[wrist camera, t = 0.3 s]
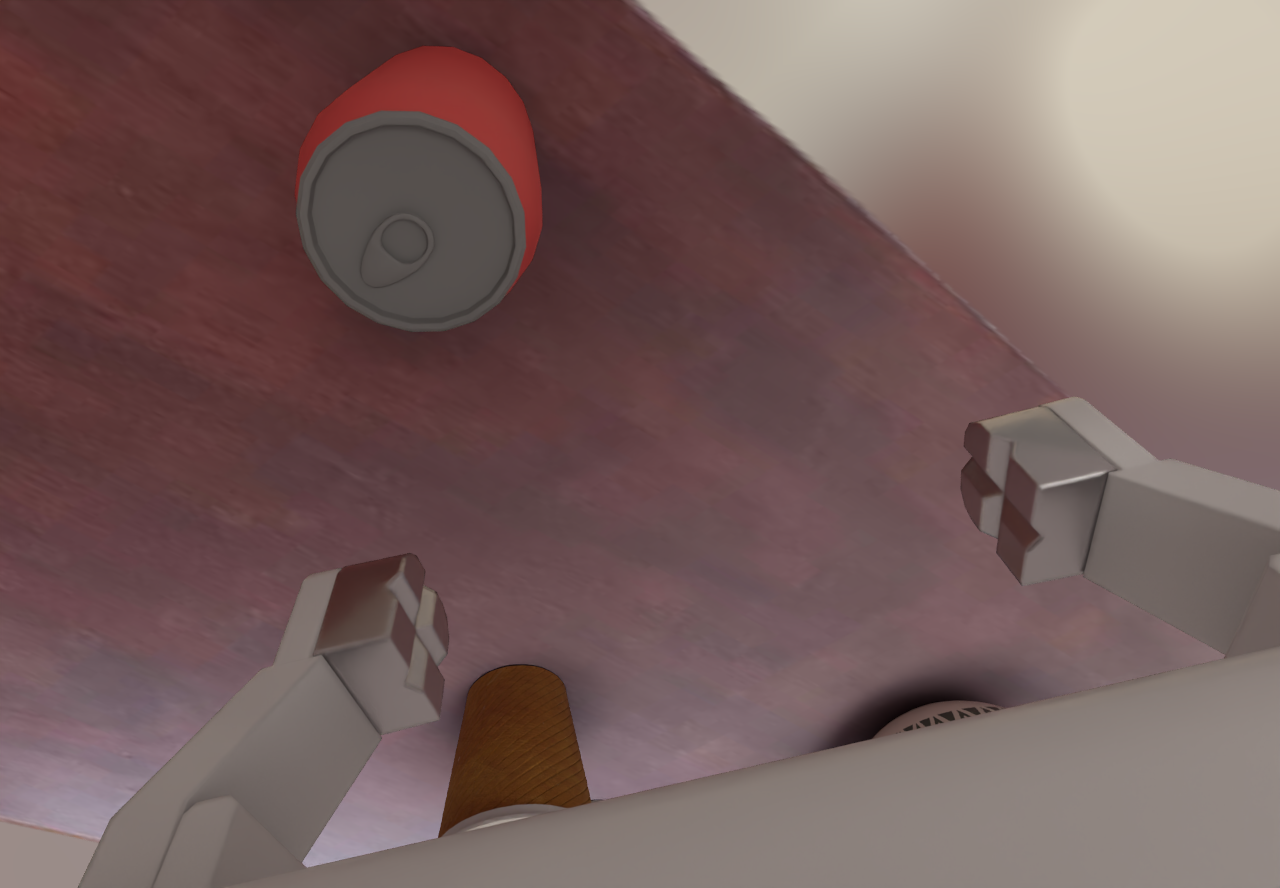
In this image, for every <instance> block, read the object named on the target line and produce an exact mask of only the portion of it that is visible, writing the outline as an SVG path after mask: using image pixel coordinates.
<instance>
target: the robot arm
mask: <svg viewBox="0 0 1280 888" xmlns="http://www.w3.org/2000/svg"><path fill="white" fill-rule="evenodd" d="M964 447H965V449H966V450H967V451H968V452H969V453H970V455H971V456H972V457H971V459H970V460H969V461H968V463H967V464H966V465H965V466H964V468H963V469H962V470H961V493H962V497H963V501H964V505H965V508H966V510H967V512H968V514H969V516H970V518H971V520H972V521H973V522H974V524H975V525H976V527H977V528H978V529H979V531H981V532H983V533H985V534H987V535H990V536H992V537H994V538H996V539H998V543H997V551H996V553H997V554H998V556H999V557H1000V558H1001V560H1002V561H1003V562H1004V563H1005V565H1006V566H1007V567H1008V569H1009V570H1010V571H1011V573H1012V574H1013V575H1014V576H1015V578H1016V579H1017V580H1018V582H1019V583H1020V584H1021V585H1022V586H1026V585H1031V584H1036V583H1041V582H1046V581H1051V580H1056V579H1061V578H1065V577H1070V576H1075V575H1080V574H1084V575H1083V577H1084V578H1086V579H1088V580H1090V581H1092V582H1094V583H1095V584H1097V585H1099V586H1101V587H1103V588H1104V589H1106V590H1108V591H1110V592H1112V593H1114V594H1115V595H1117V596H1119V597H1121V598H1123V599H1125V600H1126V601H1128V602H1130V603H1132V604H1134V605H1135V606H1137V607H1139V608H1141V609H1143V610H1145V611H1146V612H1148V613H1150V614H1152V615H1154V616H1156V617H1157V618H1159V619H1161V620H1163V621H1165V622H1166V623H1168V624H1170V625H1172V626H1174V627H1176V628H1177V629H1179V630H1181V631H1183V632H1185V633H1186V634H1188V635H1190V636H1192V637H1194V638H1196V639H1197V640H1199V641H1201V642H1203V643H1205V644H1207V645H1208V646H1210V647H1212V648H1214V649H1216V650H1217V651H1219V652H1221V653H1223V654H1225V657H1224V659H1220V660H1216V661H1211V662H1207V663H1203V664H1198V665H1194V666H1189V667H1185V668H1181V669H1176V670H1172V671H1167V672H1163V673H1159V674H1154V675H1150V676H1146V677H1141V678H1137V679H1132V680H1128V681H1124V682H1119V683H1115V684H1110V685H1106V686H1102V687H1097V688H1093V689H1088V690H1084V691H1080V692H1075V693H1071V694H1067V695H1062V696H1058V697H1053V698H1049V699H1045V700H1040V701H1036V702H1032V703H1027V704H1023V705H1019V706H1014V707H1010V708H1006V709H1001V710H997V711H992V712H988V713H984V714H979V715H975V716H971V717H966V718H962V719H958V720H953V721H949V722H945V723H940V724H936V725H932V726H927V727H923V728H918V729H914V730H910V731H905V732H901V733H897V734H892V735H888V736H884V737H879V738H875V739H871V740H866V741H862V742H857V743H853V744H849V745H844V746H840V747H835V748H831V749H827V750H822V751H818V752H813V753H809V754H805V755H800V756H796V757H791V758H787V759H783V760H778V761H774V762H769V763H765V764H761V765H756V766H752V767H747V768H743V769H739V770H734V771H730V772H725V773H721V774H717V775H712V776H708V777H703V778H699V779H695V780H690V781H686V782H681V783H677V784H673V785H668V786H664V787H659V788H655V789H651V790H646V791H642V792H637V793H633V794H629V795H624V796H620V797H615V798H611V799H607V800H602V801H598V802H593V803H589V804H585V805H580V806H576V807H572V808H567V809H563V810H558V811H554V812H550V813H545V814H541V815H536V816H532V817H528V818H523V819H519V820H515V821H510V822H506V823H501V824H497V825H493V826H488V827H484V828H479V829H475V830H471V831H466V832H462V833H458V834H453V835H449V836H444V837H440V838H436V839H431V840H427V841H422V842H418V843H414V844H409V845H405V846H401V847H396V848H392V849H387V850H383V851H379V852H374V853H370V854H365V855H361V856H357V857H352V858H348V859H344V860H339V861H335V862H330V863H326V864H322V865H317V866H313V867H308V868H307V867H306V866H305V865H303V864H302V861H303V860H304V858H305V857H306V855H307V854H308V852H309V851H310V849H311V847H312V846H313V844H314V843H315V841H316V840H317V838H318V837H319V835H320V834H321V832H322V830H323V829H324V827H325V826H326V824H327V823H328V821H329V820H330V818H331V817H332V815H333V813H334V812H335V810H336V809H337V807H338V806H339V804H340V803H341V801H342V800H343V798H344V796H345V795H346V793H347V792H348V790H349V789H350V787H351V786H352V784H353V783H354V781H355V779H356V778H357V776H358V775H359V773H360V772H361V770H362V769H363V767H364V766H365V764H366V762H367V761H368V759H369V758H370V756H371V755H372V753H373V752H374V750H375V749H376V747H377V745H378V744H379V742H380V741H381V739H382V737H381V736H380V735H384V734H388V733H392V732H396V731H400V730H404V729H407V728H411V727H415V726H419V725H423V724H427V723H431V722H434V721H438V720H440V714H441V706H442V698H443V689H444V681H445V680H444V678H443V676H442V674H441V673H440V671H439V669H438V666H439V664H440V663H441V662H442V661H443V659H444V658H445V657H446V655H447V654H448V645H449V631H448V622H447V616H446V613H445V610H444V607H443V604H442V602H441V600H440V598H439V596H438V594H437V592H436V591H434V590H432V589H430V588H428V587H426V586H424V585H423V584H424V578H425V569H424V568H423V566H422V564H421V563H420V561H419V559H418V557H417V556H416V555H414V554H411V553H407V554H403V555H398V556H393V557H388V558H383V559H379V560H374V561H369V562H364V563H360V564H355V565H350V566H345V567H343V568H338V569H334V570H329V571H324V572H319V573H315V574H310V575H309V576H308V577H307V578H306V579H305V580H304V581H303V582H302V584H301V587H300V590H299V593H298V596H297V598H296V601H295V604H294V607H293V610H292V612H291V615H290V618H289V621H288V623H287V626H286V629H285V632H284V635H283V637H282V640H281V643H280V646H279V648H278V651H277V654H276V657H275V660H274V662H273V665H272V666H271V667H267V668H263V669H261V670H260V671H259V672H258V673H257V674H256V675H255V676H254V677H253V678H252V679H251V680H250V681H249V682H248V683H247V684H246V685H245V686H244V687H243V688H242V689H241V690H240V691H239V692H238V693H237V694H236V695H235V696H234V697H233V698H232V699H231V700H230V701H229V702H228V703H227V704H226V705H225V706H224V707H223V708H222V709H221V710H220V711H219V712H218V713H217V714H216V715H215V716H214V717H213V718H211V719H210V720H209V721H208V722H207V723H206V724H205V725H204V726H203V727H202V728H201V729H200V730H199V731H198V732H197V733H196V734H195V735H194V736H193V737H192V738H191V739H190V740H189V741H188V742H187V743H186V744H185V745H184V746H183V747H182V748H181V749H180V750H179V751H178V752H177V753H176V754H175V755H174V756H173V757H172V758H171V759H170V760H169V761H168V762H167V763H166V764H165V765H164V766H163V767H162V768H161V769H160V770H159V771H158V772H157V773H156V774H155V775H154V776H153V777H152V778H151V779H150V780H149V781H148V782H147V783H146V784H145V785H144V786H143V787H142V788H141V789H140V790H139V791H138V792H137V793H136V794H135V795H134V796H133V797H132V798H131V799H130V800H129V801H128V802H127V803H126V804H125V805H124V806H123V807H122V808H121V809H120V810H119V811H118V812H117V813H116V814H115V815H114V816H113V817H112V818H111V819H110V821H109V823H108V825H107V827H106V829H105V832H104V834H103V836H102V838H101V840H100V842H99V844H98V846H97V848H96V850H95V853H94V854H93V857H92V859H91V861H90V863H89V865H88V867H87V869H86V871H85V873H84V875H83V877H82V880H81V882H80V884H79V886H78V888H1280V491H1279V490H1275V489H1272V488H1268V487H1265V486H1262V485H1258V484H1255V483H1251V482H1248V481H1245V480H1241V479H1238V478H1235V477H1231V476H1228V475H1224V474H1221V473H1218V472H1214V471H1211V470H1207V469H1204V468H1201V467H1197V466H1194V465H1191V464H1187V463H1184V462H1181V461H1177V460H1174V459H1166V460H1162V461H1159V460H1157V459H1156V458H1155V457H1154V456H1153V455H1151V454H1150V453H1149V452H1148V451H1147V450H1145V449H1144V448H1143V447H1142V446H1141V445H1139V444H1138V443H1137V442H1136V441H1134V440H1133V439H1132V438H1131V437H1129V436H1128V435H1127V434H1126V433H1125V432H1123V431H1122V430H1121V429H1120V428H1119V427H1117V426H1116V425H1115V424H1114V423H1112V422H1111V421H1110V420H1109V419H1108V418H1106V417H1105V416H1104V415H1103V414H1102V413H1100V412H1099V411H1098V410H1097V409H1095V408H1094V407H1093V406H1092V405H1090V404H1089V403H1088V402H1087V401H1086V400H1084V399H1081V398H1077V397H1071V398H1067V399H1063V400H1059V401H1055V402H1051V403H1047V404H1043V405H1039V406H1038V407H1035V408H1030V409H1026V410H1022V411H1018V412H1013V413H1009V414H1005V415H1001V416H997V417H992V418H988V419H984V420H980V421H976V422H972V423H969V425H968V427H967V429H966V431H965V437H964Z"/></svg>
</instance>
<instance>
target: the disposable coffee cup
mask: <svg viewBox="0 0 1280 888" xmlns="http://www.w3.org/2000/svg"><path fill="white" fill-rule="evenodd" d="M576 739H577V737H576V733H575V729H574V725H573V720H572V716H571V712H570V707H569V703H568V699H567V694H566V689H565V686H564V684H563V682H562V681H561V680H560V679H559V678H558V676H556V675H555V674H553V673H552V672H550V671H548V670H545V669H543V668H539V667H535V666H526V665H517V666H508V667H503V668H500V669H496V670H494V671H491V672H489V673H487V674H486V675H484V676H483V677H481V678H480V679H478V680H477V681H476V682H475V683H474V684H473V686H472V687H471V689H470V690H469V693H468V696H467V701H466V706H465V711H464V716H463V721H462V725H461V730H460V735H459V740H458V745H457V749H456V754H455V759H454V764H453V768H452V774H451V778H450V782H449V788H448V792H447V798H446V802H445V807H444V812H443V817H442V822H441V827H440V831H439V836H438V838H440V837H444V836H449V835H453V834H458V833H462V832H466V831H471V830H475V829H479V828H484V827H488V826H493V825H497V824H501V823H506V822H510V821H515V820H519V819H523V818H528V817H532V816H536V815H541V814H545V813H550V812H554V811H558V810H563V809H567V808H572V807H576V806H580V805H585V804H589V803H591V799H590V794H589V790H588V787H587V780H586V777H585V772H584V768H583V764H582V760H581V755H580V751H579V746H578V742H577V740H576Z"/></svg>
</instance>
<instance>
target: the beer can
mask: <svg viewBox="0 0 1280 888" xmlns="http://www.w3.org/2000/svg"><path fill="white" fill-rule="evenodd" d="M295 199H296V203H297V207H296V217H297V221H298V226H299V231H300V235H301V240H302V245H303V249H304V250H305V252H306V254H307V256H308V258H309V259H310V261H311V263H312V265H313V266H314V268H315V270H316V272H317V274H318V275H319V277H320V279H321V280H322V281H323V282H324V283H325V284H326V285H327V286H328V287H329V288H330V289H331V290H332V291H333V292H334V293H335V294H336V295H337V296H338V297H339V298H340V299H341V300H342V301H343V302H344V303H345V304H346V305H347V306H348V307H350V308H352V309H354V310H355V311H357V312H359V313H361V314H362V315H364V316H366V317H368V318H370V319H371V320H373V321H375V322H377V323H379V324H383V325H387V326H390V327H394V328H398V329H402V330H406V331H410V332H428V331H446V330H449V329H452V328H455V327H459V326H462V325H465V324H468V323H471V322H474V321H476V320H477V319H478V318H480V317H481V316H482V315H484V314H485V313H487V312H488V311H489V310H491V309H492V308H493V307H495V306H496V305H498V304H499V303H500V302H501V300H502V299H503V297H504V296H505V295H506V294H508V293H509V292H510V291H511V289H512V288H513V287H514V285H515V284H516V282H517V281H518V279H519V278H520V277H521V275H522V274H523V272H524V271H525V270H526V268H527V267H528V265H529V264H530V263H531V261H532V260H533V257H534V253H535V250H536V246H537V243H538V240H539V236H540V233H541V229H542V194H541V183H540V176H539V169H538V162H537V155H536V148H535V141H534V135H533V129H532V126H531V123H530V120H529V117H528V115H527V112H526V109H525V106H524V103H523V101H522V100H521V98H520V97H519V95H518V94H517V93H516V91H515V90H514V88H513V87H512V85H511V84H510V83H509V81H508V80H507V78H506V77H505V76H504V75H502V74H501V73H500V72H499V71H497V70H496V69H495V68H494V67H492V66H491V65H490V64H489V63H487V62H486V61H485V60H483V59H482V58H481V57H478V56H475V55H473V54H470V53H467V52H465V51H462V50H460V49H457V48H454V47H443V46H421V47H418V48H415V49H412V50H409V51H406V52H403V53H400V54H397V55H395V56H394V57H392V58H391V59H389V60H388V61H387V62H385V63H384V64H382V65H381V66H380V67H378V68H377V69H375V70H374V71H373V72H371V73H370V74H368V75H367V76H366V77H364V78H363V79H361V80H360V81H359V82H357V83H356V84H354V85H353V86H352V87H350V88H349V89H347V90H346V91H345V92H344V93H343V94H342V95H340V96H339V97H338V98H337V99H336V100H334V101H333V102H332V103H331V104H330V105H329V106H327V107H326V108H325V109H324V110H323V111H321V112H320V113H319V114H318V115H317V117H316V119H315V121H314V123H313V125H312V127H311V129H310V131H309V133H308V134H307V136H306V138H305V140H304V142H303V144H302V146H301V148H300V153H299V161H298V169H297V177H296V185H295Z"/></svg>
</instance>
